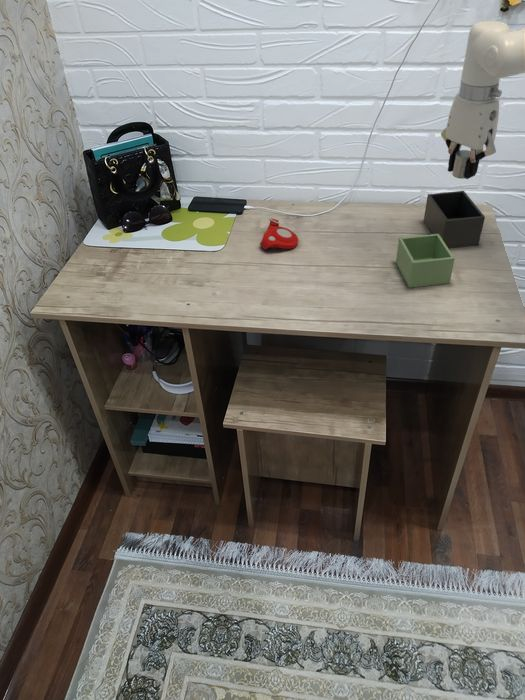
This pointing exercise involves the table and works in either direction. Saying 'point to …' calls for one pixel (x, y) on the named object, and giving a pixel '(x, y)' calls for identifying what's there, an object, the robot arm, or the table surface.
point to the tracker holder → (278, 236)
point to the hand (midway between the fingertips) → (461, 172)
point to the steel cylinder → (461, 163)
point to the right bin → (454, 218)
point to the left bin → (424, 260)
